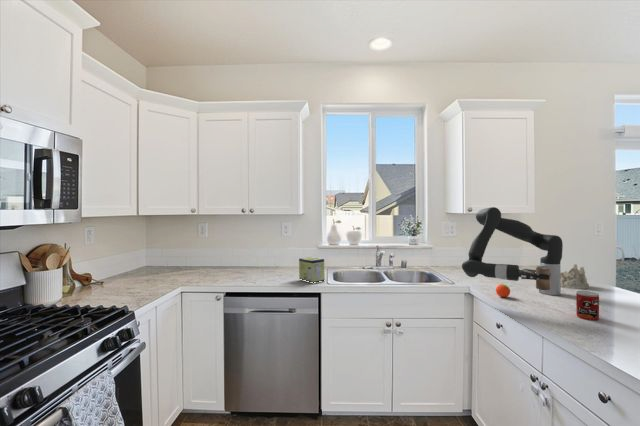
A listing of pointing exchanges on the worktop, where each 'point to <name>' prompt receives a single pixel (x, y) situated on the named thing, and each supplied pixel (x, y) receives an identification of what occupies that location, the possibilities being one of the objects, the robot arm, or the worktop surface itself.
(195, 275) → the worktop surface
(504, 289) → the clementine
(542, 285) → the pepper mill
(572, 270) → the beige irregular lump
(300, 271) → the protein box
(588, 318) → the canned food
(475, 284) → the worktop surface
